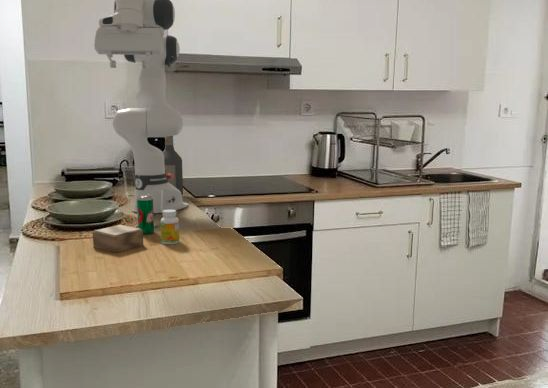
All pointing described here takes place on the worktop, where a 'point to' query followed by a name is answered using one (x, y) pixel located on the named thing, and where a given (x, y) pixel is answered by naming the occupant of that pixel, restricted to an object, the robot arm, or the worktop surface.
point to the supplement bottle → (169, 227)
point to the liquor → (173, 164)
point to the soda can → (145, 213)
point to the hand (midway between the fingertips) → (128, 67)
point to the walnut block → (117, 238)
